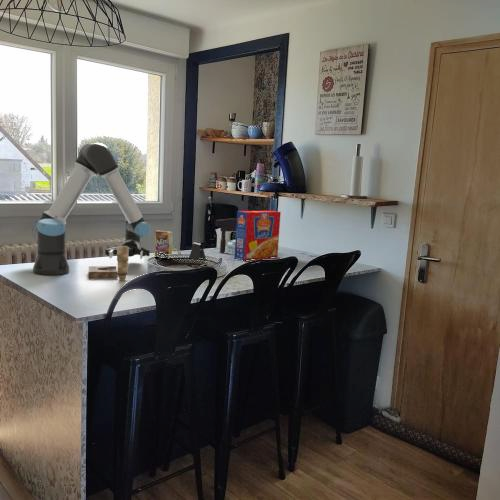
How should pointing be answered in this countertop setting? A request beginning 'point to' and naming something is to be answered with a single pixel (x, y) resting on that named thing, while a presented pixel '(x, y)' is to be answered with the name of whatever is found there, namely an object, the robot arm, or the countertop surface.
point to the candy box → (163, 241)
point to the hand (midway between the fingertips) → (125, 255)
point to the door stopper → (197, 251)
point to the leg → (122, 261)
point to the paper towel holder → (225, 226)
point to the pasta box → (257, 235)
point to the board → (102, 272)
